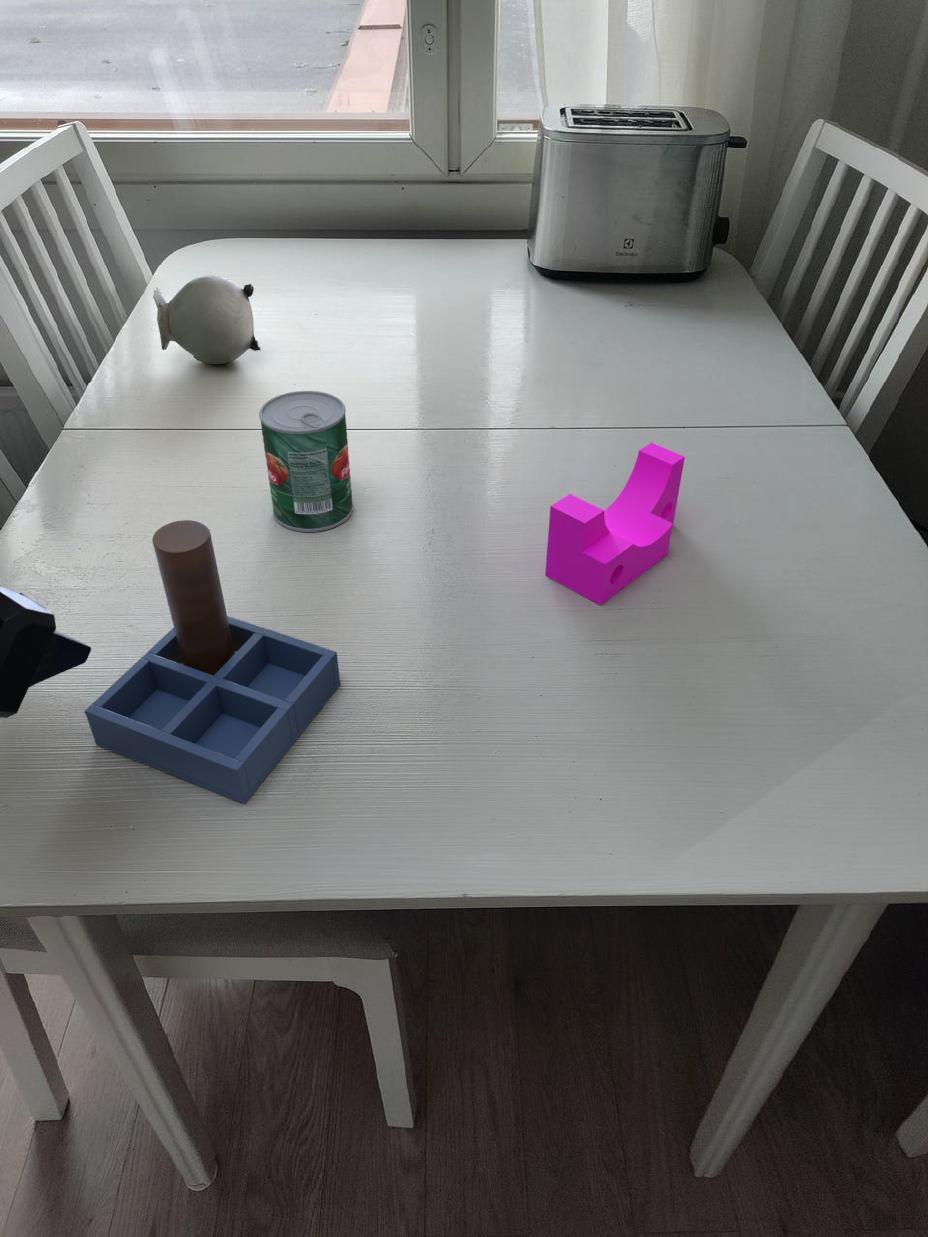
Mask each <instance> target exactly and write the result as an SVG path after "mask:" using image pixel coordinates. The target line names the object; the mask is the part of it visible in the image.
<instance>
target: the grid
mask: <svg viewBox="0 0 928 1237" xmlns="http://www.w3.org/2000/svg"><path fill="white" fill-rule="evenodd" d="M227 618H228V623H229V628H230V633H231V638H232V643H233V648H234V652H235V654H234V655H233V656H232V657H231V658H230V659H229V660H228V661H227V663H226V664H225V665H224V666H223V667H222V668H221V669H220V670H219V671H218V672H217V673H216V674H215V675H214V676H213V675H210V674H207V673H205V672H202V671H199V670H196V669H193V668H191V667H188V666H185V665H183V661H182V657H181V653H180V649H179V645H178V641H177V637H176V633H175V629H174V627H173V628H171V629H170V630H169V631H168V632H167V633H166V634H165V635H164V636H162V638H160V639H159V641H157V642H156V643H155V645H153V646H152V647H151V648H149V650H148V651H147V652H146V653H145V654H144V655H143V656H142V657H141V658H139V659H138V660H137V661H136V662H135V663H134V664H133V665H132V666H131V667H130V668H129V669H127V671H125V672H124V673H123V674H122V675H121V676H120V677H119V678H118V679H117V680H116V681H115V682H114V683H112V684H111V686H109V687H108V688H107V689H106V690H105V691H104V692H103V693H102V694H101V695H100V696H98V697H97V699H96V700H95V701H93V702H92V703H91V704H90V705H89V706H88V707H87V708H86V709H85V710H84V714H85V716H86V720H87V722H88V725H89V728H90V730H91V733H92V736H93V739H94V742H95V744H96V746H99V747H101V748H104V749H105V750H106V749H107V751H112V752H114V753H116V754H118V755H121V756H123V757H126V758H129V759H130V760H134V761H136V762H138V763H140V764H143V765H146V766H148V767H151V768H153V769H156V770H159V771H161V772H163V773H166V774H168V775H171V776H173V777H175V778H178V779H181V780H184V781H185V782H188V783H190V784H193V785H196V786H198V787H200V788H202V789H205V790H208V791H210V792H213V793H216V794H218V795H221V796H223V797H226V798H228V799H230V800H233V801H235V802H238V803H240V804H243V805H245V804H246V803H247V802H248V801H249V800H250V799H251V797H252V796H253V794H254V793H255V792H256V791H257V790H258V788H259V787H260V786H261V785H262V784H263V783H264V781H265V780H266V778H267V777H268V776H269V775H270V773H271V772H272V771H273V769H275V767H276V766H277V765H278V764H279V762H280V761H281V760H282V759H283V757H284V756H285V755H286V753H287V752H288V751H289V750H290V748H291V747H292V746H293V745H294V743H295V742H296V741H297V740H298V739H299V737H300V736H301V735H302V734H303V732H304V731H305V730H306V729H307V727H308V726H309V725H310V724H311V722H313V720H314V719H315V718H316V716H317V715H318V714H319V713H320V712H321V710H322V709H323V707H324V706H325V705H326V704H327V703H328V702H329V700H331V698H332V696H333V695H334V694H335V693H336V692H337V690H338V689H339V688H340V686H341V678H340V668H339V661H338V660H339V659H338V652H337V651H336V650H332V649H329V648H326V647H323V646H321V645H320V646H319V645H317V644H315V643H311V642H308V641H305V640H302V639H299V638H296V637H293V636H290V635H286V634H284V633H280V632H278V631H274V630H272V629H270V628H266V627H262V626H259V625H257V624H253V623H251V622H248V621H245V620H241V619H238V618H236V617H232V616H229V615H227Z"/></svg>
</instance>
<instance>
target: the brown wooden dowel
mask: <svg viewBox="0 0 928 1237" xmlns="http://www.w3.org/2000/svg"><path fill="white" fill-rule="evenodd" d="M151 540H152V546H153V550H154V553H155V557H156V562H157V565H158V570H159V574H160V577H161V581H162V585H163V589H164V593H165V598H166V600H167V605H168V609H169V610H168V611H169V614H170V618H171V622H172V625H173V628H174V629H175V633H176V637H177V641H178V645H179V649H180V653H181V657H182V661H183V665H185V666H188V667H191V668H193V669H196V670H199V671H202V672H205V673H207V674H210V675H213V676H214V675H215V674H216V673H217V672H218V671H219V670H220V669H221V668H222V667H223V666H224V665H225V664H226V663H227V661H228V660H229V659H230V658H231V657H232V656H233V655H234V654H235V652H234V648H233V643H232V638H231V633H230V628H229V623H228V618H227V616H228V614H227V609H226V603H225V598H224V594H223V588H222V584H221V579H220V574H219V569H218V564H217V558H216V553H215V548H214V544H213V538H212V534H211V530H210V528H209V526H208V525H207V524H205V523H203V522H201V521H199V520H192V519H182V520H176V521H172V522H169V523H166V524H164V525H162V526H160V527H159V528H158V529H157V530H156V531H155V532H154V534H153V535H152V539H151Z"/></svg>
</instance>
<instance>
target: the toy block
mask: <svg viewBox="0 0 928 1237" xmlns="http://www.w3.org/2000/svg"><path fill="white" fill-rule="evenodd" d="M685 458H686V456H684V455H681V454H680V453H678V452H675V451H672V450H670V449H668V448H666V447H663V446H661V445H658V444H656V443H654V442H650V443H648V444H647V445H645V446H644V447H642V448H640V449H639V450H638V452H637V457H636V460H635V463H634V465H633V468H632V471H631V472H630V476H629V478H628V480H627V482H626V483H625V485H624V486H623V488H622V490H621V492H619V494H618V496H617V497H616V499H615V500H614V501H613V502H612V503H611V504H610V505H609V506H608V507H607V508H606V509H605V510H604V509H602V508H600V507H598V506H596V505H594V504H592V503H590V502H588V501H586V500H583V499H581V498H580V497H578V496H576V495H573V494H571V493H569V494H567V495H565V496H564V497H563V498H561V499H559V500H558V501H556V502H555V503H553V504H551V505H550V507H549V519H548V531H547V532H548V534H547V544H546V558H545V559H546V560H545V561H546V562H545V572H544V575H545V576H546V577H548V578H549V579H551V580H553V581H555V582H556V583H559V584H560V585H562V586H564V587H566V588H567V589H569V590H571V591H573V592H575V593H576V594H579V595H580V596H582V597H584V598H586V599H588V600H589V601H591V602H593V603H594V604H597V605H598V606H601V605H603V604H604V603H605V602H607V601H609V599H611V598H613V596H615V595H616V594H617V593H619V592H620V591H622V590H623V589H624V588H626V587H627V586H628V585H630V584H631V583H632V582H633V581H635V580H636V579H637V578H639V577H640V576H642V575H643V574H644V573H645V572H647V571H648V570H650V569H651V568H652V567H653V566H655V565H656V564H658V563H659V562H661V560H662V559H664V558H665V557H667V556H668V553H669V549H670V541H671V536H672V532H673V525H674V523H675V522H674V521H675V515H676V510H677V504H678V498H679V492H680V488H681V481H682V476H683V472H684V471H683V470H684V465H685Z"/></svg>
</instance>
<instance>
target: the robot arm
mask: <svg viewBox="0 0 928 1237" xmlns="http://www.w3.org/2000/svg"><path fill="white" fill-rule="evenodd" d="M55 616H56V615H55V613H52V612H51V611H50V610H48V609H47V608H45V607H44V606H43V605H41V604H39V603H38V602H37V601H35V600H33V599H32V598H30V597H28V596H27V595H26V594H24V593H22V592H19V593H18V592H16V591H13V590H11V589H8V588H5V587H3V586H0V718H3V719H8V718H10V717H12V716H15V715H16V714H18V713H19V710H20V709H21V708H20V707H21V706H22V704H23V701H24V699H25V697H26V695H27V693H28V691H29V689H30V688H32V687H34V686H35V685H37V684H39V683H41V682H44V681H45V680H48V679H51V678H53V677H55V676H58V675H60V674H62V673H65V672H67V671H69V670H72V669H75V668H77V667H78V666H81V665H83V664H85V663H86V662H87V661H88V658H89V657H90V655H91V652H92V647H91V646H90V645H88V644H86V643H85V642H82V641H80V640H78V639H76V638H74V637H71V636H69V635H66V634H64V633H62V632H59V631H57V630H56V629H57V624H56V623H57V622H56V617H55Z"/></svg>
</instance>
